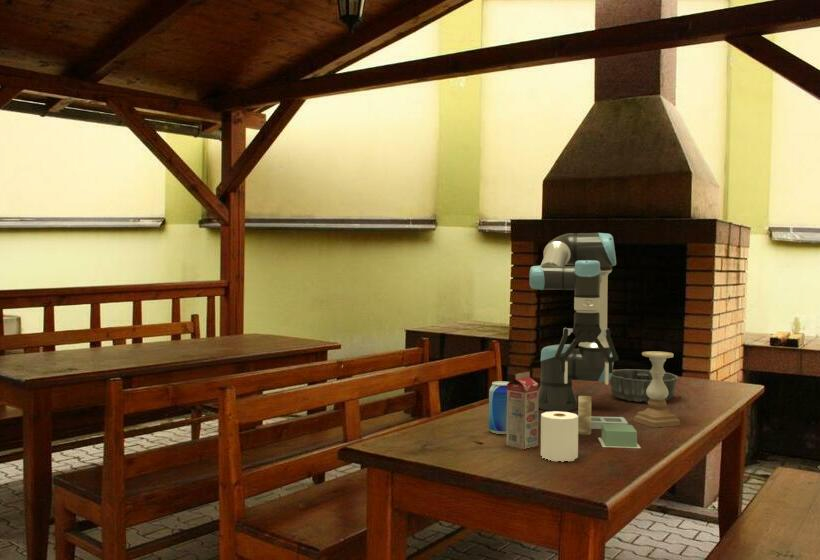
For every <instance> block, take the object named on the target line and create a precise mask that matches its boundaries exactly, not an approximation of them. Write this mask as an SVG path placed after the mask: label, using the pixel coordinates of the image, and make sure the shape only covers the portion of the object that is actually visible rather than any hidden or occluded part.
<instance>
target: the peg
mask: <svg viewBox="0 0 820 560" xmlns="http://www.w3.org/2000/svg"><path fill="white" fill-rule="evenodd" d="M577 411H578V413H577V416H578V435H583V436H587V435H588V436H589V435H592V429H591V416H592V396H589V395H579V396H578V401H577Z"/></svg>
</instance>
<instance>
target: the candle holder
mask: <svg viewBox="0 0 820 560" xmlns="http://www.w3.org/2000/svg"><path fill="white" fill-rule="evenodd" d="M641 355H642V356H643V357H645V358H649V361H650V363H651V366H652V367H651V369H649V370H650V373H651V375H652V381H651V383H650V384H649V386H648V387H647V389H646V394H647V396H648V397H649V398H650V400H649V401H648V403H647V405H648V407H647V408H646V409H645V410H643V411H638V412H637V413H636V415H634V416H633V422H635V423H637V424H641V425H644V426H647V427H650V428H654V429H658V428H659V427H661V428H669V427H668V426H671V427H679V426H678V425H680V426H681V420H680V419H679V418H678V415H677V414H674V413H671V412H670V411H669V410H668V409H666V406H667V404H668V403H667V400H666V401H665V400H664V399H665V398H666V397H667V396H668V394H669V392H668V389H667V387H666V386H665V384H664V382H663V376H664V374H665V373H667V372H666V371H665V369H664V365H665V362H666V361H667V359H670V358H674V353H673V352H668V351H660V350H659V351H656V350H655V351H654V350H653V351H651V350H650V351H642V352H641ZM659 429H660V428H659Z"/></svg>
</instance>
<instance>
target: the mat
mask: <svg viewBox="0 0 820 560" xmlns="http://www.w3.org/2000/svg"><path fill="white" fill-rule="evenodd" d="M597 439H598V441H599V443H600V444H601V447H602V448H618V449H619V448H621V449H622V448H624V449H642V448H641V446H640V444H638V442H637V447H619V446H605V444H604V442H603V440H602V437H597Z"/></svg>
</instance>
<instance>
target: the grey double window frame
mask: <svg viewBox="0 0 820 560" xmlns="http://www.w3.org/2000/svg"><path fill="white" fill-rule="evenodd" d="M602 424H614V425H629V423H628V421H627V420H626V418H625V417H623V416H596V415H595V416H593V415H591V430H602Z"/></svg>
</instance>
